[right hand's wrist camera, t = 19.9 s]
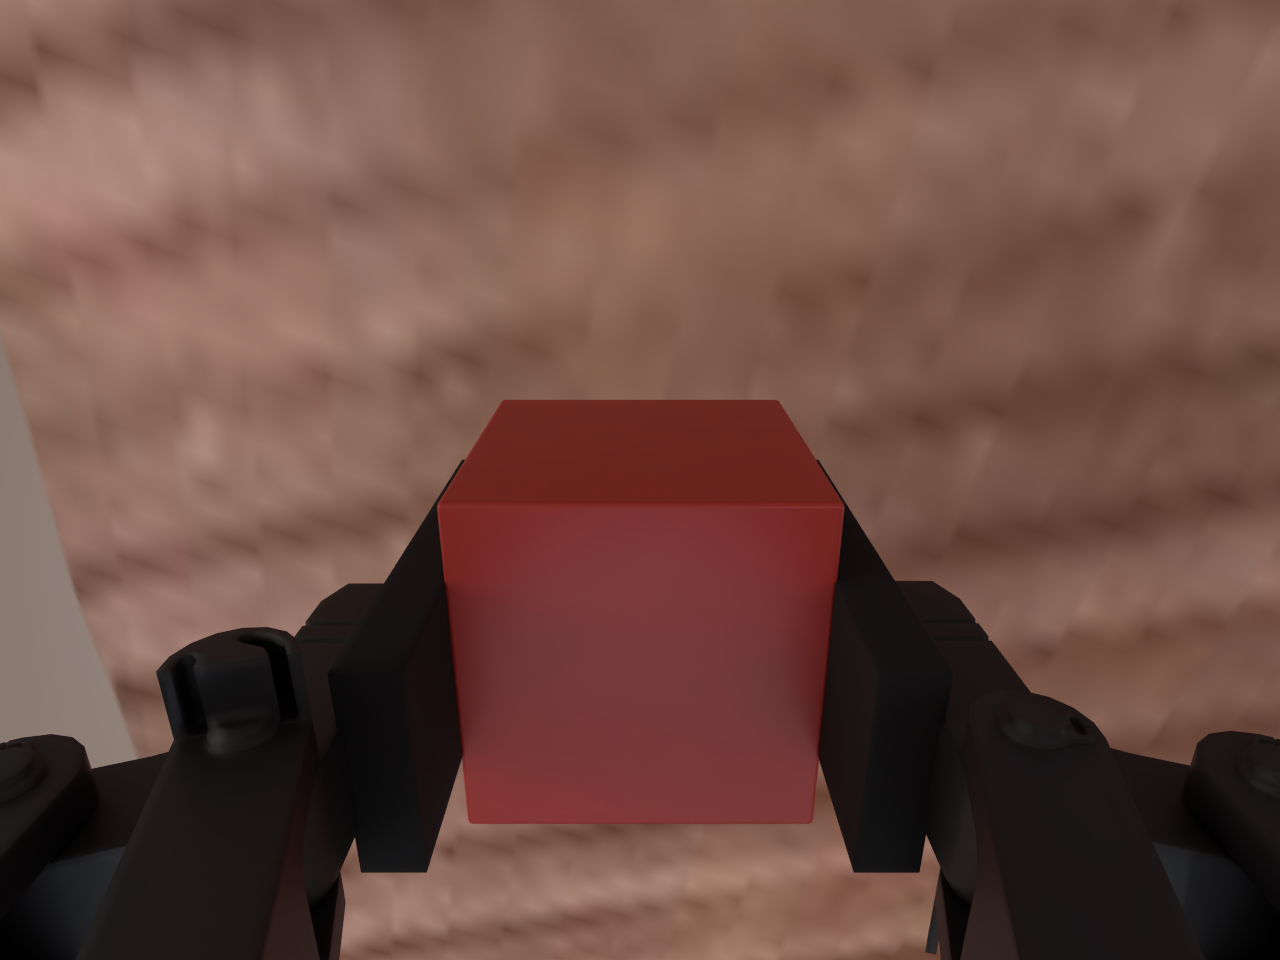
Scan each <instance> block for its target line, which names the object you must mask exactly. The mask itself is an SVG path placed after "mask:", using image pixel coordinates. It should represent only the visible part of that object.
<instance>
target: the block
mask: <svg viewBox="0 0 1280 960" xmlns="http://www.w3.org/2000/svg"><path fill="white" fill-rule="evenodd" d="M844 508H845V507H844V504H843V502H842V500H841V499H840V497H839V496H838V494H837V492H836V491H835V489H834V488H833V486H832V485H831V483H830V481H829V480H828V478H827V477H826V475H825V473H824V472H823V470H822V469H821V467H820V466H819V464H818V462H817V461H816V459H815V458H814V456H813V455H812V453H811V451H810V450H809V448H808V447H807V445H806V443H805V442H804V440H803V439H802V437H801V436H800V434H799V432H798V431H797V429H796V428H795V426H794V425H793V423H792V421H791V420H790V418H789V417H788V415H787V413H786V412H785V410H784V409H783V407H782V406H781V404H780V402H779V401H777V400H503V401H502V402H501V404H500V405H499V407H498V408H497V410H496V412H495V413H494V415H493V416H492V418H491V420H490V421H489V423H488V424H487V426H486V428H485V429H484V431H483V432H482V434H481V436H480V437H479V439H478V440H477V442H476V444H475V445H474V447H473V448H472V450H471V452H470V453H469V455H468V456H467V458H466V460H465V461H464V463H463V464H462V466H461V468H460V469H459V471H458V472H457V474H456V476H455V477H454V479H453V480H452V482H451V484H450V485H449V487H448V488H447V490H446V492H445V493H444V495H443V496H442V498H441V500H440V501H439V503H438V505H437V512H438V522H439V532H440V542H441V552H442V562H443V572H444V581H445V587H446V597H447V607H448V617H449V627H450V637H451V647H452V657H453V667H454V677H455V687H456V697H457V707H458V717H459V727H460V737H461V747H462V762H463V772H464V782H465V792H466V802H467V812H468V820H469V822H470V823H472V824H809V823H811V822H812V820H813V812H814V803H815V793H816V783H817V773H818V763H819V758H818V753H819V743H820V733H821V723H822V713H823V703H824V693H825V683H826V673H827V664H828V654H829V644H830V634H831V624H832V614H833V604H834V594H835V584H836V582H837V576H838V567H839V557H840V547H841V537H842V527H843V517H844Z"/></svg>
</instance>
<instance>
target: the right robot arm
mask: <svg viewBox="0 0 1280 960" xmlns="http://www.w3.org/2000/svg"><path fill="white" fill-rule="evenodd" d="M464 461H465V460H462V461H461V462H460V464H459V466H458V467H457V469H456V470H455V472H454V474H453V475H452V477H451V478H450V480H449V481H448V483H447V485H446V486H445V488H444V489H443V491H442V493H441V494H440V496H439V497H438V499H437V500H436V502H435V504H434V505H433V507H432V508H431V510H430V512H429V513H428V515H427V516H426V518H425V519H424V521H423V523H422V524H421V526H420V527H419V529H418V531H417V532H416V534H415V535H414V537H413V538H412V540H411V542H410V543H409V545H408V546H407V548H406V550H405V551H404V553H403V554H402V556H401V557H400V559H399V561H398V562H397V564H396V565H395V567H394V569H393V570H392V572H391V573H390V575H389V576H388V578H387V580H386V581H385V583H384V584H347V585H346V586H344V587H343V588H341V589H339V590H338V591H336V592H335V593H333V594H332V595H330V596H329V597H327V598H326V599H324V600H322V601H321V602H320V604H319V605H318V606H317V608H316V609H315V610H314V612H313V613H312V614H311V616H310V617H309V618H308V620H307V621H306V626H302V628H301V629H300V630H299V631H298V633H297V634H296V635H295V637H293V636H292V635H291V634H289V633H288V632H287V631H282V630H278V629H273V628H269V627H257V628H240V629H235V630H231V631H226V632H221V633H216V634H214V635H211V636H209V637H206V638H203V639H201V640H198V641H196V642H193V643H191V644H189V645H187V646H186V647H184V648H183V649H181V650H179V651H178V652H176V653H175V654H173V655H171V656H170V657H169V658H168V659H167V660H166V661H165V662H164V663H163V664H162V666H161V667H160V668H159V669H158V670H157V671H156V673H157V677H158V681H159V684H160V688H161V692H162V696H163V699H164V703H165V707H166V711H167V715H168V718H169V722H170V726H171V730H172V734H173V737H174V741H173V743H172V746H171V748H170V750H169V752H166V753H162V754H159V755H155V756H151V757H147V758H142V759H137V760H132V761H127V762H123V763H118V764H113V765H108V766H103V767H98V768H93V769H91V766H90V763H89V760H88V757H87V753H86V750H85V747H84V746H83V745H82V744H80V743H79V742H78V741H77V740H75V739H74V738H73V737H67V736H60V735H53V734H49V735H41V736H32V737H24V738H19V739H15V740H10V741H9V742H7V743H5V742H3V743H1V744H0V960H339V956H340V947H341V938H342V929H343V920H344V911H345V897H344V890H343V884H342V878H341V873H340V870H341V868H342V865H343V863H344V861H345V858H346V856H347V854H348V851H349V849H350V847H351V844H352V842H353V840H354V838H355V839H356V845H357V851H358V857H359V863H360V869H361V873H381V872H427V870H428V866H429V863H430V860H431V857H432V853H433V850H434V847H435V844H436V840H437V837H438V834H439V831H440V827H441V824H442V821H443V818H444V814H445V811H446V808H447V805H448V801H449V798H450V795H451V792H452V788H453V785H454V782H455V779H456V775H457V772H458V769H459V766H460V762H461V759H462V747H461V737H460V727H459V717H458V707H457V697H456V687H455V677H454V667H453V657H452V647H451V637H450V627H449V617H448V607H447V597H446V587H445V581H444V572H443V562H442V552H441V542H440V532H439V522H438V512H437V505H438V503H439V501H440V500H441V498H442V496H443V495H444V493H445V492H446V490H447V488H448V487H449V485H450V484H451V482H452V480H453V479H454V477H455V476H456V474H457V472H458V471H459V469H460V468H461V466H462V464H463V463H464ZM816 461H817V462H818V464H819V466H820V467H821V469H822V470H823V472H824V473H825V475H826V477H827V478H828V480H829V481H830V483H831V485H832V486H833V488H834V489H835V491H836V492H837V494H838V496H839V497H840V499H841V500H842V502H843V504H844V507H845V508H844V517H843V527H842V537H841V547H840V557H839V567H838V576H837V582H836V584H835V594H834V604H833V614H832V624H831V634H830V644H829V654H828V664H827V673H826V683H825V693H824V703H823V713H822V723H821V733H820V743H819V753H818V758H819V761H820V764H821V767H822V771H823V774H824V777H825V780H826V784H827V787H828V790H829V793H830V797H831V800H832V803H833V806H834V810H835V813H836V816H837V819H838V823H839V826H840V829H841V832H842V836H843V839H844V842H845V845H846V849H847V852H848V855H849V858H850V862H851V865H852V868H853V871H854V872H859V873H919V872H920V866H921V860H922V854H923V848H924V843H925V837H926V835H927V837H928V839H929V842H930V844H931V846H932V849H933V851H934V853H935V855H936V858H937V860H938V862H939V865H940V873H939V878H938V884H937V889H936V895H935V900H934V905H933V911H932V916H931V922H930V927H929V933H928V939H927V946H926V952H927V953H932V954H936V952H937V947H938V941H939V945H940V954H941V960H1280V739H1277V740H1276V739H1273V737H1269V736H1265V735H1260V734H1253V733H1245V732H1236V731H1226V732H1219V733H1212V734H1208V735H1207V736H1206V737H1205V738H1203V739H1202V740H1201V741H1199V742H1198V743H1197V746H1196V749H1195V752H1194V756H1193V759H1192V762H1191V765H1190V766H1189V765H1184V764H1179V763H1175V762H1170V761H1165V760H1160V759H1155V758H1150V757H1146V756H1141V755H1136V754H1131V753H1127V752H1123V751H1120V750H1116V749H1112V748H1110V746H1109V744H1108V742H1107V740H1106V738H1105V737H1104V735H1103V734H1102V733H1101V731H1100V730H1099V729H1098V727H1097V726H1096V725H1095V723H1094V722H1092V721H1091V720H1090V719H1088V718H1087V717H1085V716H1084V715H1083V714H1081V713H1080V712H1079V711H1077V710H1076V709H1074V708H1073V707H1070V706H1068V705H1066V704H1064V703H1061V702H1059V701H1057V700H1055V699H1052V698H1050V697H1047V696H1043V695H1039V694H1034V693H1031V692H1030V691H1029V689H1028V688H1027V687H1026V685H1025V684H1024V683H1023V681H1022V680H1021V679H1020V677H1019V676H1018V675H1017V674H1016V672H1015V671H1014V670H1013V668H1012V667H1011V666H1010V664H1009V663H1008V662H1007V660H1006V659H1005V658H1004V656H1003V655H1002V654H1001V652H1000V651H999V650H998V649H997V647H996V646H995V645H994V643H993V642H992V641H989V640H988V635H987V634H986V633H985V631H984V630H983V629H982V627H981V626H980V625H979V624H978V623H975V618H974V617H973V616H972V614H971V613H970V612H969V610H968V609H967V608H966V606H965V605H964V604H963V602H962V601H961V600H960V599H959V598H958V597H956V596H955V595H953V594H952V593H950V592H948V591H947V590H945V589H944V588H942V587H941V586H939V585H938V584H936V583H934V582H933V581H895V580H894V579H893V577H892V576H891V574H890V572H889V571H888V569H887V568H886V566H885V565H884V563H883V561H882V560H881V558H880V557H879V555H878V553H877V552H876V550H875V549H874V547H873V546H872V544H871V542H870V541H869V539H868V538H867V536H866V534H865V533H864V531H863V530H862V528H861V527H860V525H859V523H858V522H857V520H856V519H855V517H854V516H853V514H852V512H851V511H850V509H849V508H848V506H847V504H846V503H845V501H844V500H843V498H842V497H841V495H840V493H839V492H838V490H837V489H836V487H835V485H834V484H833V482H832V481H831V479H830V478H829V476H828V474H827V473H826V471H825V470H824V468H823V466H822V465H821V463H820V462H819V460H816Z"/></svg>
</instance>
